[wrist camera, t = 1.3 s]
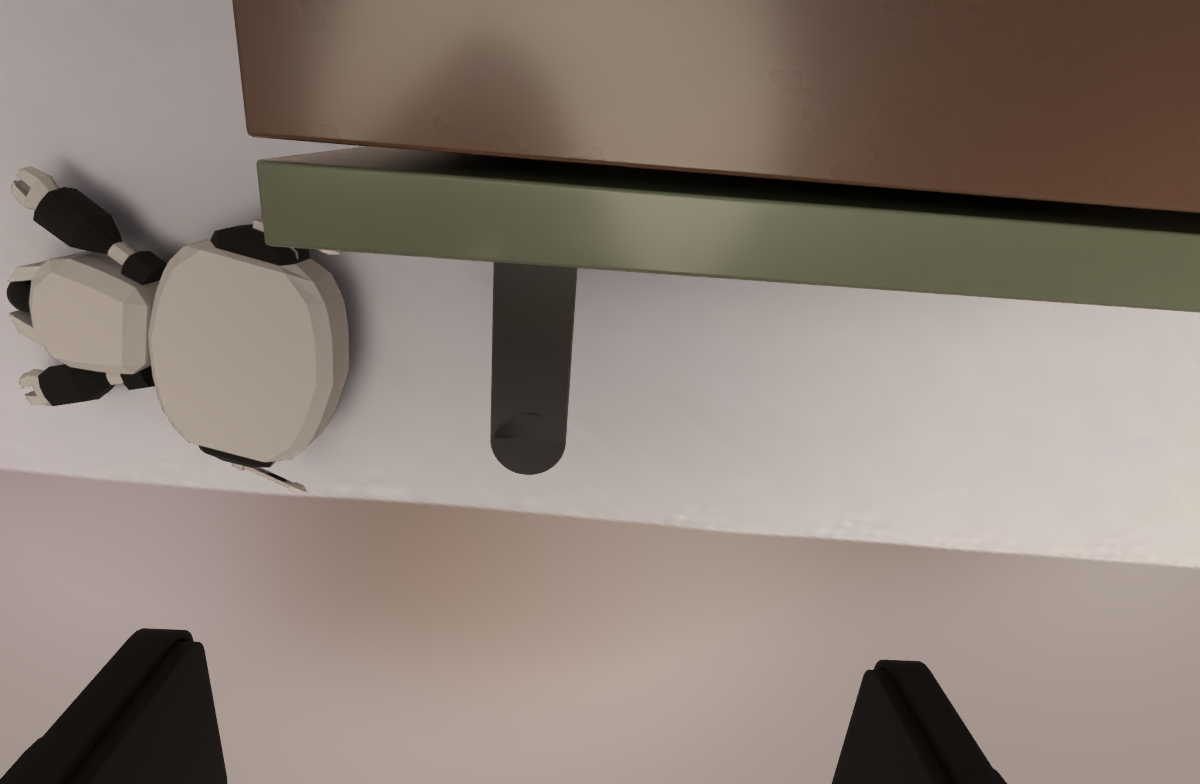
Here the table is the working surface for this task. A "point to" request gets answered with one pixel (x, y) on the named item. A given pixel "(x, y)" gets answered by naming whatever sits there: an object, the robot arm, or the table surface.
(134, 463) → the table surface
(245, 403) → the robot toy
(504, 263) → the cupboard door
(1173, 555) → the table surface
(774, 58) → the cupboard
